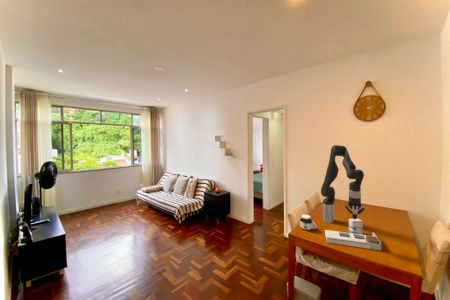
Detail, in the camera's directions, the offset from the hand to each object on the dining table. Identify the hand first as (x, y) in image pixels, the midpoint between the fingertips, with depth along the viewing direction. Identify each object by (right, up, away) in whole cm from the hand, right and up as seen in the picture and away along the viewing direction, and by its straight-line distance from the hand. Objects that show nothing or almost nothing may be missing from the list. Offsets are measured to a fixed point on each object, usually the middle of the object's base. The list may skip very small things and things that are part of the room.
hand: (354, 218), depth 145 cm
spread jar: (-23, -19, +28) cm, 40 cm away
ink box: (+11, -18, +16) cm, 26 cm away
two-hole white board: (0, -19, +5) cm, 20 cm away
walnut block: (+10, -17, -3) cm, 20 cm away
